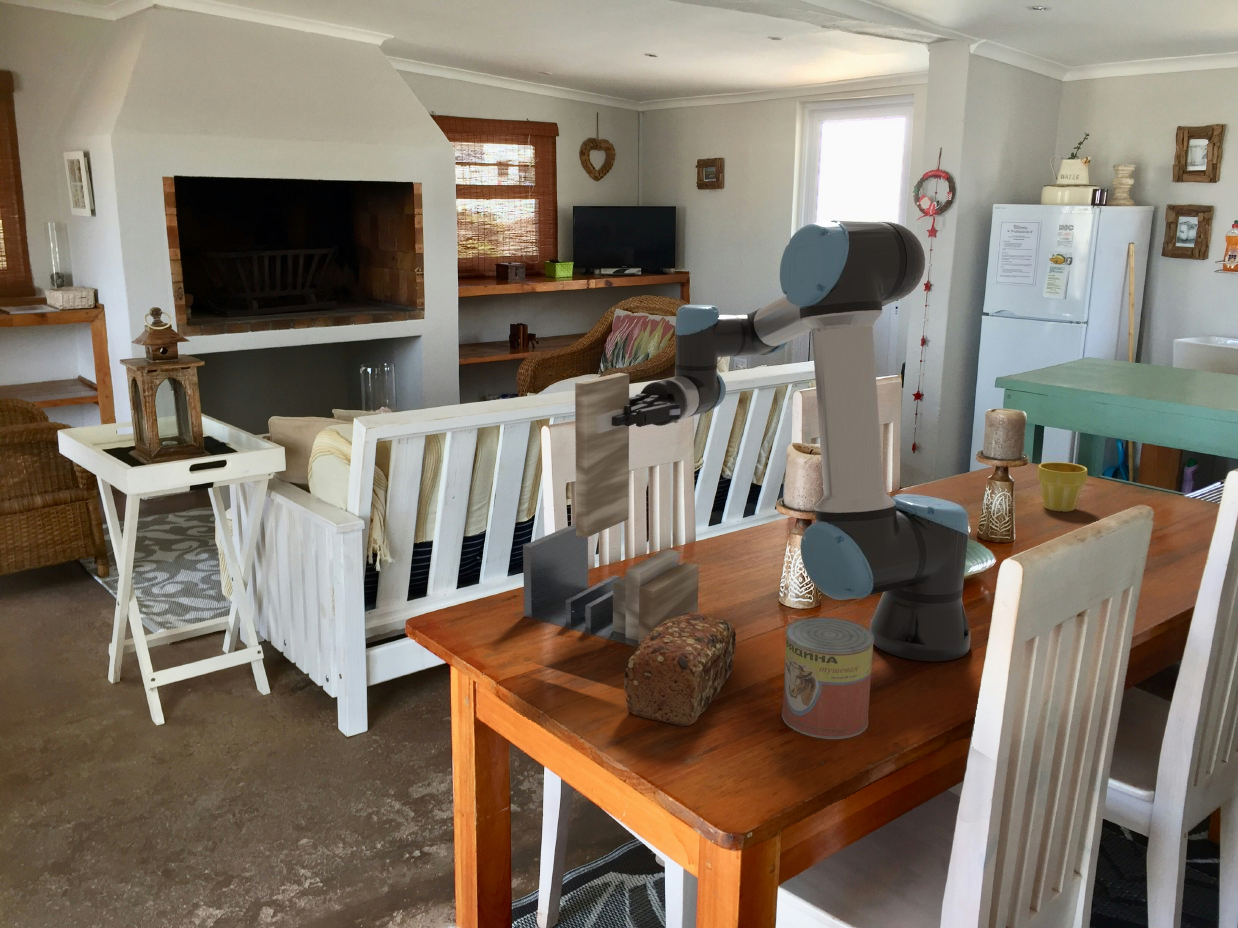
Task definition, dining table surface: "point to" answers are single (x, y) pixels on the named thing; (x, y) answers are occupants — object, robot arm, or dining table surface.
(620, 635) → the metal rack
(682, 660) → the bread
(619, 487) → the plywood sheet
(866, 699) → the canned food
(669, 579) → the offcut stack
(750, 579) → the dining table surface
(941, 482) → the dining table surface
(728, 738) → the dining table surface
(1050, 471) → the plant pot
